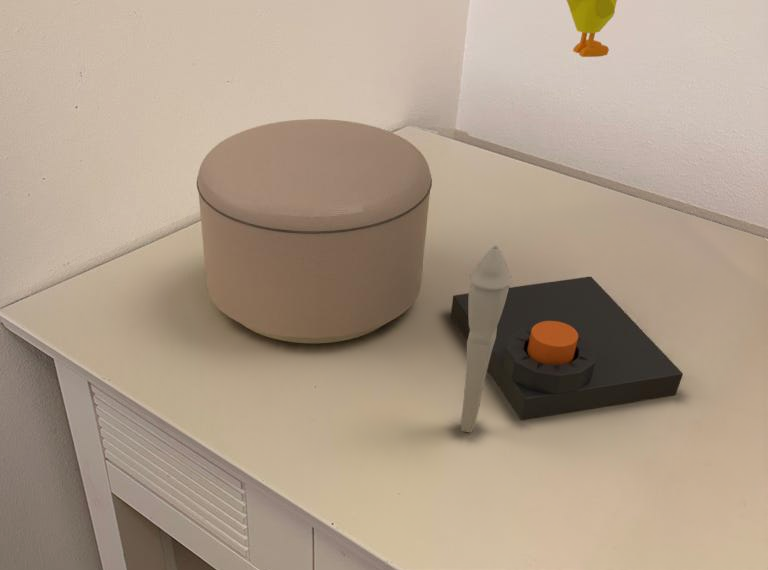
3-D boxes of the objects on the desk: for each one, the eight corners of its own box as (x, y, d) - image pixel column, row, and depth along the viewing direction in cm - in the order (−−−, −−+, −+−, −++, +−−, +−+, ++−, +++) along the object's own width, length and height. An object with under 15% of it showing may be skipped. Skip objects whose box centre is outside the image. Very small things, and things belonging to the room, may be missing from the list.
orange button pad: (586, 296, 74) (595, 258, 72) (676, 395, 64) (690, 355, 62) (449, 315, 72) (454, 277, 70) (520, 420, 62) (528, 380, 60)
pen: (445, 436, 61) (469, 252, 51) (453, 413, 63) (478, 231, 53) (481, 444, 60) (513, 259, 51) (488, 421, 62) (521, 237, 53)
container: (462, 287, 75) (480, 151, 67) (325, 383, 66) (327, 237, 58) (304, 224, 84) (303, 97, 76) (162, 299, 75) (145, 163, 67)
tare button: (561, 338, 64) (565, 317, 63) (581, 363, 62) (586, 342, 61) (519, 344, 64) (523, 323, 62) (538, 370, 61) (543, 348, 60)
